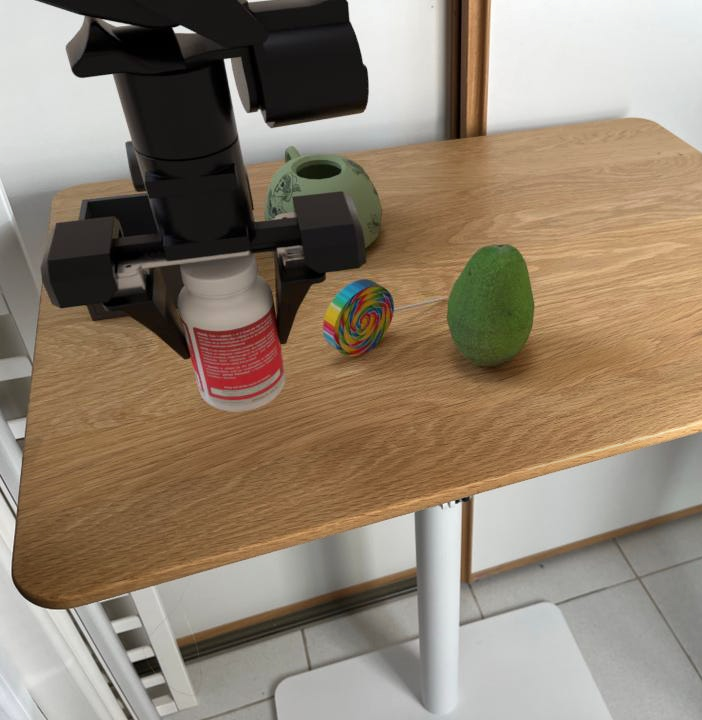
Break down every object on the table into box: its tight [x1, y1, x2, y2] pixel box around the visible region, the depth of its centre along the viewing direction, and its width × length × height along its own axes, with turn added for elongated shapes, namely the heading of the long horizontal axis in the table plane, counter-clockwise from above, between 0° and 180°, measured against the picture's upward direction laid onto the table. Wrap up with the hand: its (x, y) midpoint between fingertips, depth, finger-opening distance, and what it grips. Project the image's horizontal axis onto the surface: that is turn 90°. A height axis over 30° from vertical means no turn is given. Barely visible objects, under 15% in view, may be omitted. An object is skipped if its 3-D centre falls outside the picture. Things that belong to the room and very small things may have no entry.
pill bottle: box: [177, 253, 286, 413], centre depth 52 cm, size 6×6×11 cm
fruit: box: [446, 243, 535, 368], centre depth 66 cm, size 8×8×12 cm
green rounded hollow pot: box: [264, 145, 383, 249], centre depth 83 cm, size 16×13×9 cm
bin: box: [78, 192, 185, 321], centre depth 76 cm, size 12×12×7 cm
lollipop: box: [322, 278, 446, 358], centre depth 71 cm, size 7×1×15 cm
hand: (236, 347), depth 53 cm, fingers closed on pill bottle, 6 cm apart
